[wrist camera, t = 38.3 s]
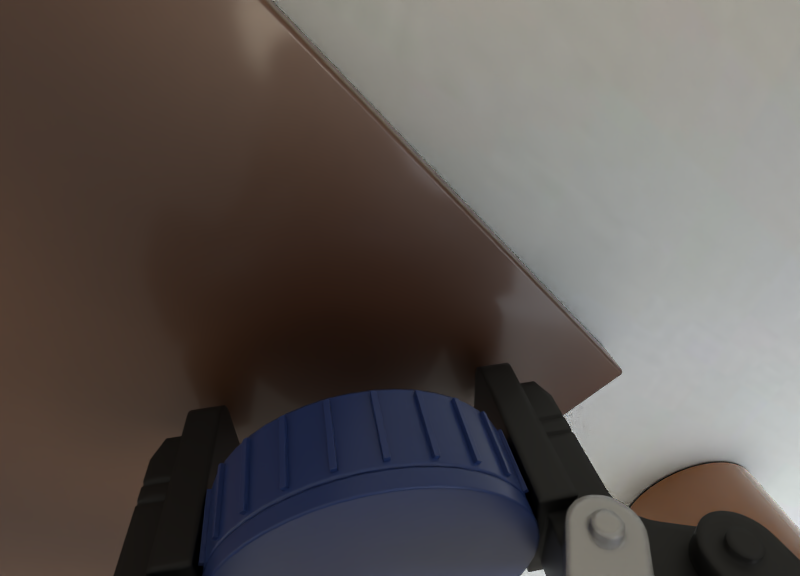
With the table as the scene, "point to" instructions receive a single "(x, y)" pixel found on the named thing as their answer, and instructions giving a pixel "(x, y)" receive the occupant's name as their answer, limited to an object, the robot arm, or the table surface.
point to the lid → (371, 493)
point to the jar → (716, 500)
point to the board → (219, 257)
